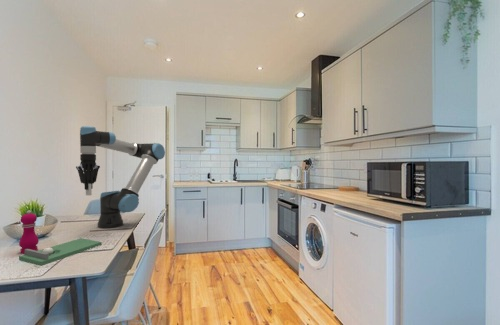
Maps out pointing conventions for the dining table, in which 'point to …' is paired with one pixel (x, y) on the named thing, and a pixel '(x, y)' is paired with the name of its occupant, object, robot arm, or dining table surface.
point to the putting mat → (58, 251)
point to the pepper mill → (28, 232)
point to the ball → (48, 250)
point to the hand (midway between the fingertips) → (88, 195)
